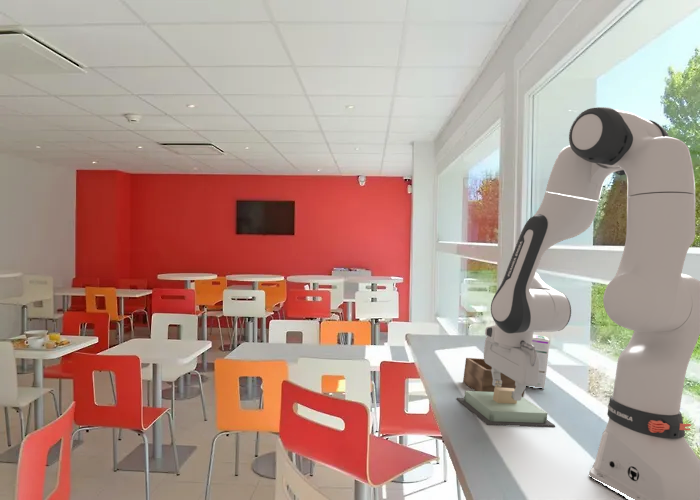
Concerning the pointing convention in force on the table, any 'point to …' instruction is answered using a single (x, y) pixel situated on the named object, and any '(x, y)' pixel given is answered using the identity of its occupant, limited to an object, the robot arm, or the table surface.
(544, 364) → the syrup box
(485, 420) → the black mat
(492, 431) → the table surface
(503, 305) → the robot arm
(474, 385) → the walnut box
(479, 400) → the green lid
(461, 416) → the table surface
